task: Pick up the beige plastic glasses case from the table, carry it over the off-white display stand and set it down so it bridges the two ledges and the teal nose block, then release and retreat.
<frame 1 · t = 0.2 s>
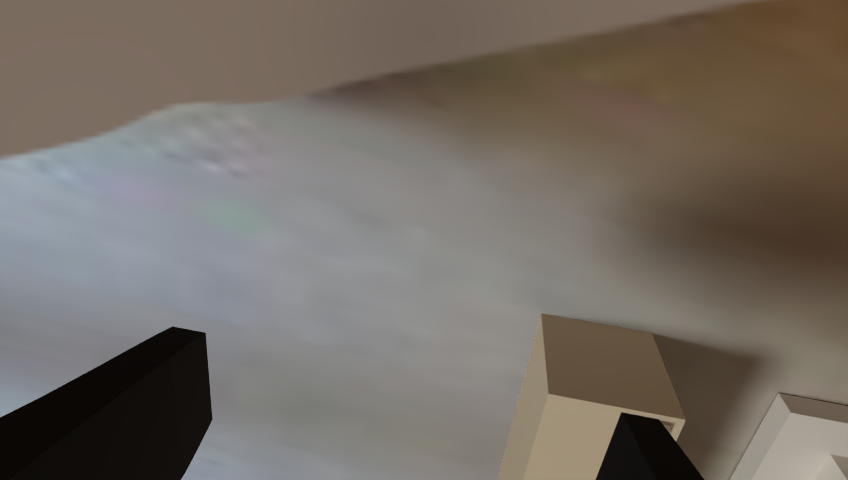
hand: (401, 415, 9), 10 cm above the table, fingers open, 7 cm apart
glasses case: (557, 437, 23), on the table
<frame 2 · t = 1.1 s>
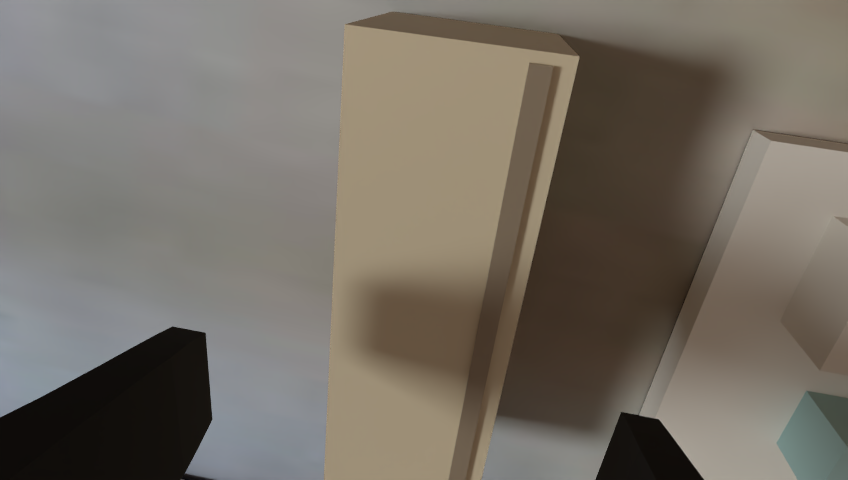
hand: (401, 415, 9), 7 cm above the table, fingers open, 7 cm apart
display stand: (827, 403, 16), on the table
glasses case: (442, 241, 16), on the table
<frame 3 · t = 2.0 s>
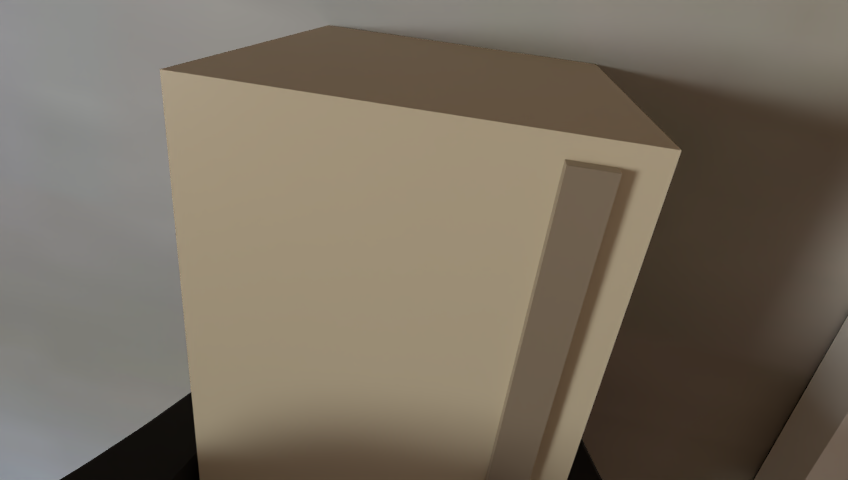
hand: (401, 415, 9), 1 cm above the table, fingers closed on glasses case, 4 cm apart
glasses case: (415, 359, 11), on the table, touching gripper
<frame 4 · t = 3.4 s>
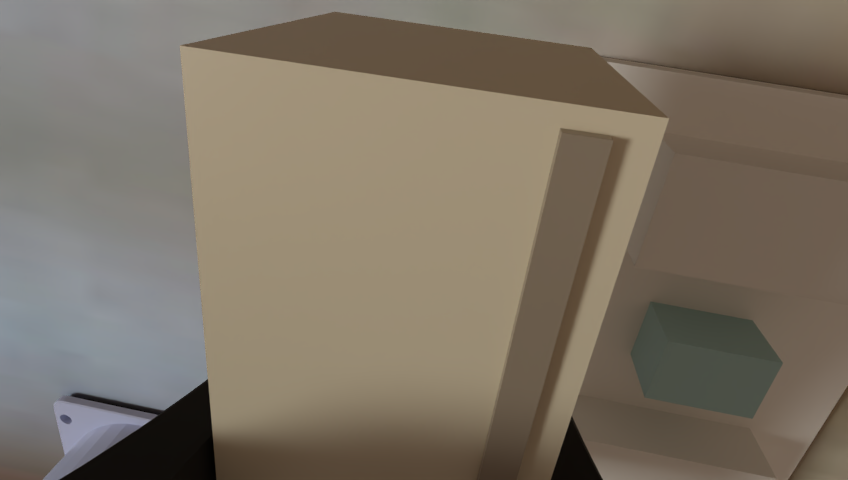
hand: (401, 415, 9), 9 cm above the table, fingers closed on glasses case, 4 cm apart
display stand: (680, 319, 17), on the table
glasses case: (417, 340, 11), point 7 cm above the table, touching gripper
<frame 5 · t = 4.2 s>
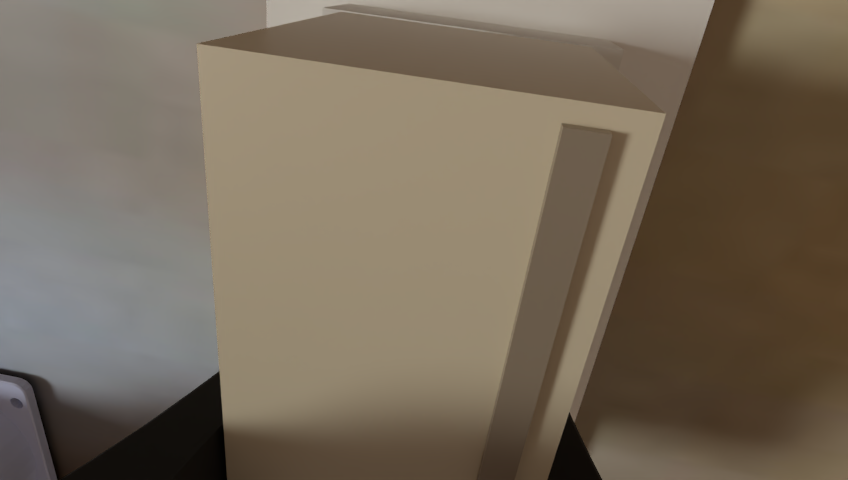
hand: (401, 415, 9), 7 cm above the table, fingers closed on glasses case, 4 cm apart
display stand: (444, 235, 16), on the table
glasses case: (420, 334, 11), point 5 cm above the table, touching gripper
when the fingers open (6 cm above the table, at t = 4.9 s): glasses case stays where it is, resting on display stand.
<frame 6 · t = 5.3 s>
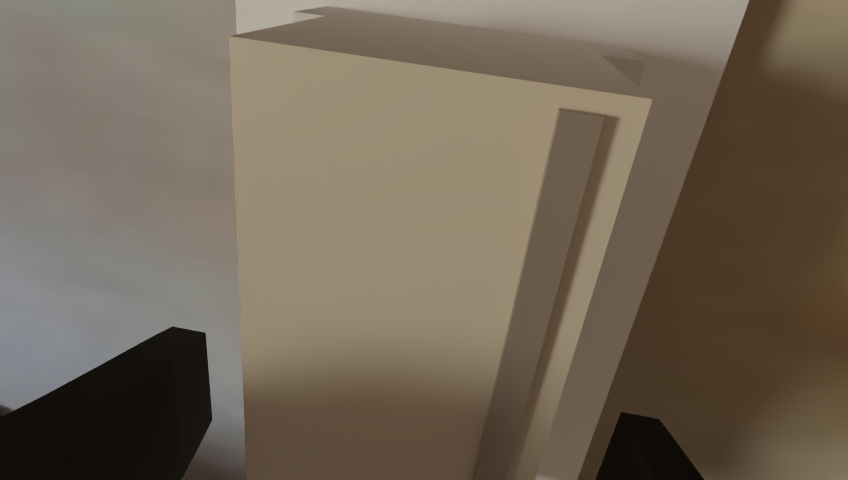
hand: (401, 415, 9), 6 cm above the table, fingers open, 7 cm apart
display stand: (439, 261, 14), on the table
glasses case: (424, 320, 12), point 3 cm above the table, touching display stand
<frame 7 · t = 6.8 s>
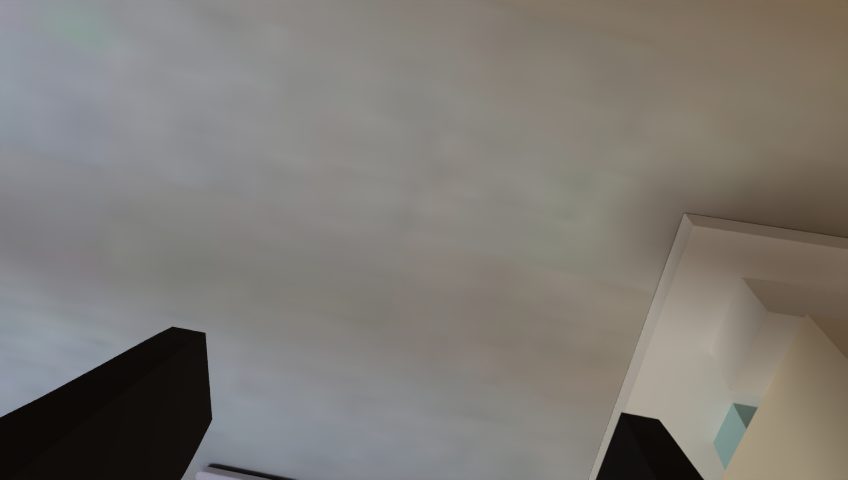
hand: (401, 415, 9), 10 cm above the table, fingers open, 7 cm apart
display stand: (753, 411, 21), on the table
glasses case: (791, 472, 18), point 3 cm above the table, touching display stand
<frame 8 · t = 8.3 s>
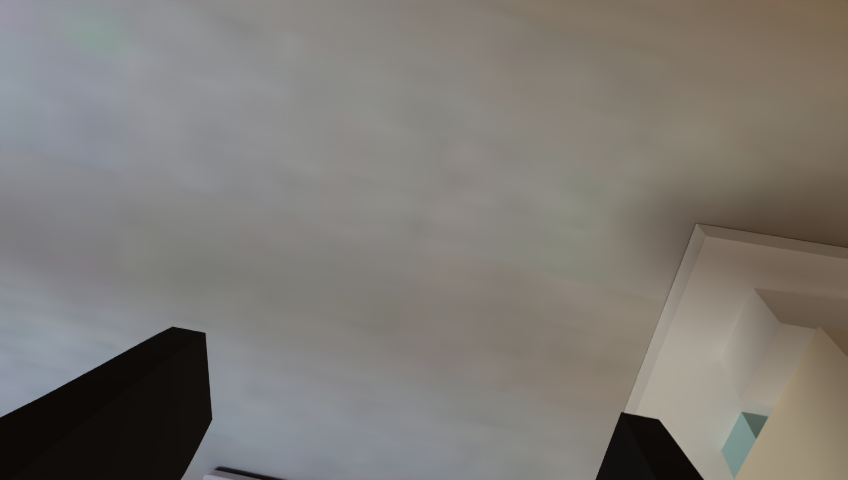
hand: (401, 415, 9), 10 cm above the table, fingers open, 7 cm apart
display stand: (761, 419, 21), on the table
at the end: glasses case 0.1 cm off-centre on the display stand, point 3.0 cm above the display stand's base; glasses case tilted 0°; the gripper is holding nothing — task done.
